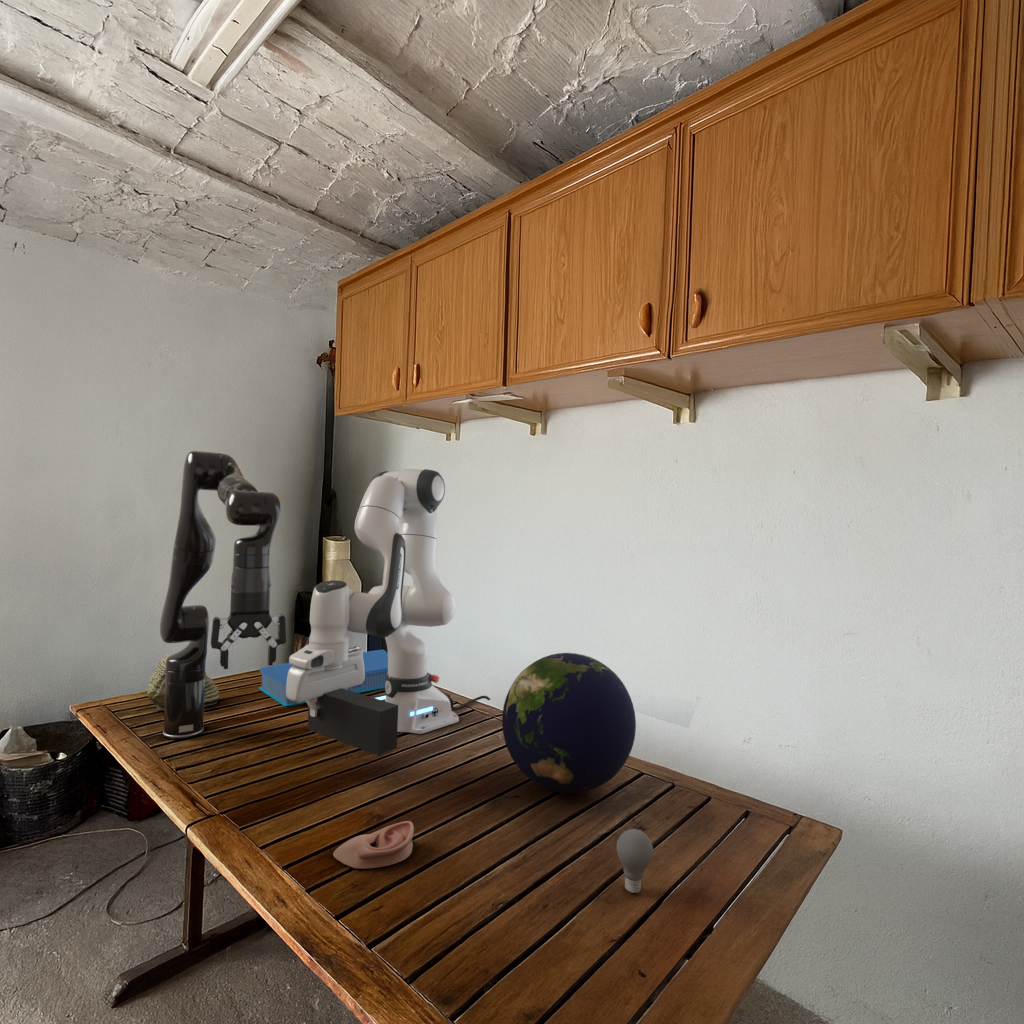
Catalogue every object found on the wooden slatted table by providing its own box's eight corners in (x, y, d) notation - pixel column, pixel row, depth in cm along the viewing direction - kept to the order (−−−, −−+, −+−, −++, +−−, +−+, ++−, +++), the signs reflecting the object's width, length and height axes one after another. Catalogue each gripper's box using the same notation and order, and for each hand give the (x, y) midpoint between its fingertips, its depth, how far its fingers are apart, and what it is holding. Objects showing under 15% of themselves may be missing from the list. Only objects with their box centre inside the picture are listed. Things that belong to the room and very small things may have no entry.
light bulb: (610, 879, 108) (613, 822, 108) (644, 879, 109) (647, 822, 109) (619, 902, 102) (622, 840, 102) (655, 901, 103) (658, 840, 103)
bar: (396, 747, 138) (398, 705, 137) (378, 756, 133) (380, 711, 133) (326, 723, 150) (327, 683, 150) (307, 729, 146) (308, 689, 145)
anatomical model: (325, 840, 109) (354, 809, 121) (324, 863, 109) (354, 830, 121) (397, 852, 107) (421, 819, 118) (396, 876, 107) (420, 840, 118)
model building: (289, 709, 186) (291, 675, 185) (258, 688, 204) (259, 657, 204) (403, 687, 212) (405, 657, 212) (366, 670, 230) (368, 643, 230)
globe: (477, 800, 135) (483, 660, 134) (527, 751, 163) (532, 634, 162) (615, 833, 124) (622, 681, 123) (643, 774, 151) (649, 649, 151)
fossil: (144, 707, 182) (145, 655, 182) (212, 696, 194) (213, 647, 194) (151, 716, 175) (153, 662, 175) (221, 703, 188) (223, 653, 188)
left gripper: (284, 584, 137) (281, 659, 137) (211, 586, 130) (208, 664, 131) (290, 589, 131) (287, 668, 131) (213, 592, 124) (211, 674, 124)
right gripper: (353, 642, 156) (351, 697, 156) (282, 658, 139) (280, 720, 139) (371, 646, 153) (369, 703, 153) (301, 663, 135) (299, 727, 136)
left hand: (248, 666), depth 131 cm, fingers open, 8 cm apart
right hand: (326, 711), depth 146 cm, fingers closed on bar, 5 cm apart
